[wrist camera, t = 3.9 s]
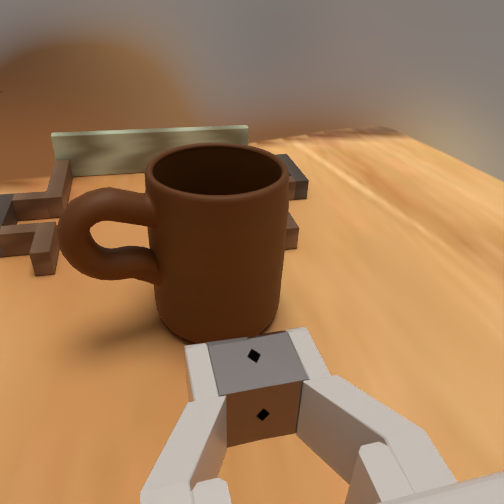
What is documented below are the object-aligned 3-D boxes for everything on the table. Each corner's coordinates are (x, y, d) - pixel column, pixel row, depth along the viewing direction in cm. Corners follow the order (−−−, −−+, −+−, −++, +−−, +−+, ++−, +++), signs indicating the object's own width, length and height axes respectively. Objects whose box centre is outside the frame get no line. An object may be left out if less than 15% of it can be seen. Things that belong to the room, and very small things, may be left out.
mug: (97, 399, 22) (59, 235, 17) (70, 307, 28) (35, 162, 22) (302, 326, 27) (321, 182, 22) (244, 261, 33) (249, 133, 27)
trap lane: (-25, 282, 29) (-45, 229, 27) (20, 175, 43) (9, 134, 41) (340, 243, 35) (348, 197, 33) (277, 160, 49) (280, 123, 46)
